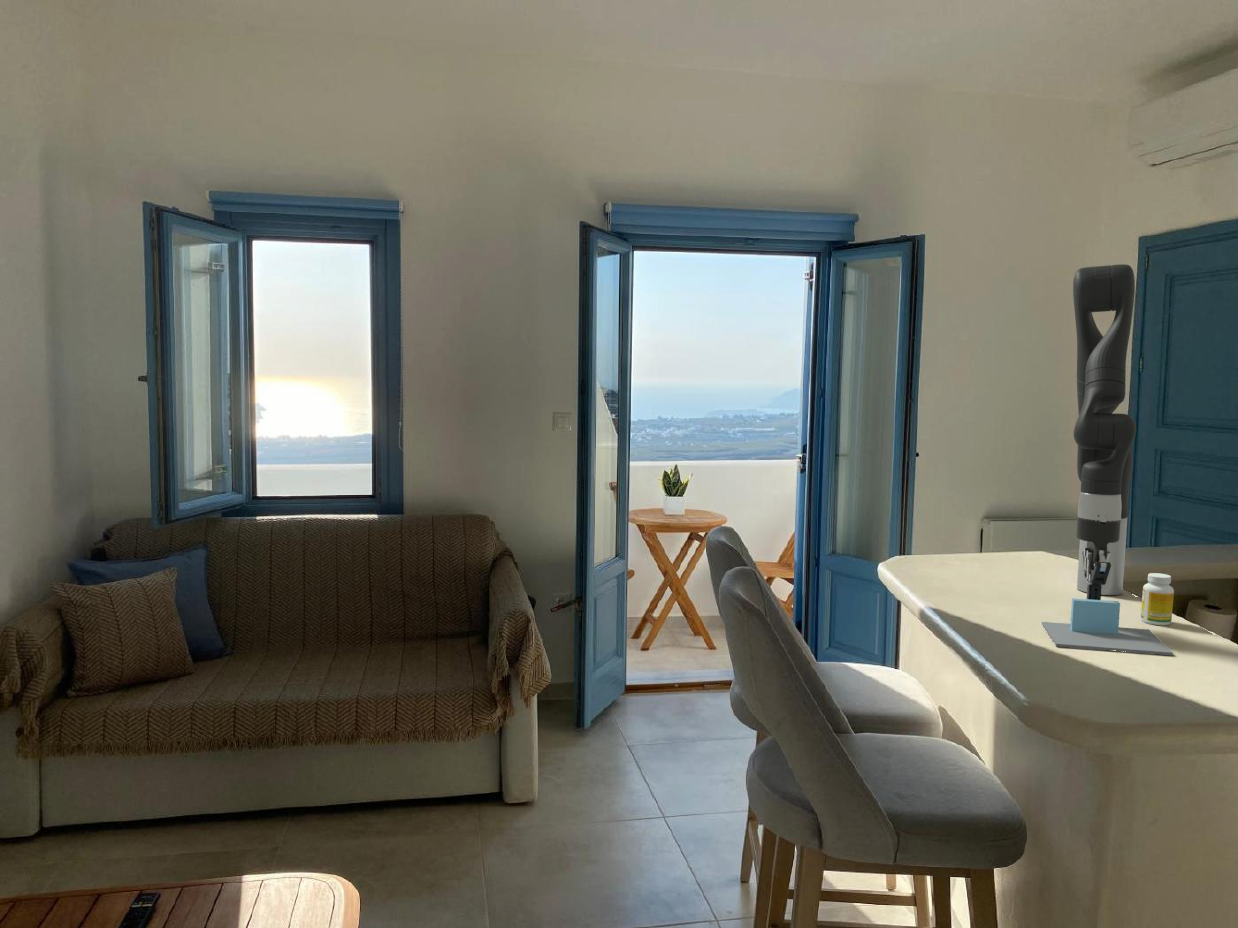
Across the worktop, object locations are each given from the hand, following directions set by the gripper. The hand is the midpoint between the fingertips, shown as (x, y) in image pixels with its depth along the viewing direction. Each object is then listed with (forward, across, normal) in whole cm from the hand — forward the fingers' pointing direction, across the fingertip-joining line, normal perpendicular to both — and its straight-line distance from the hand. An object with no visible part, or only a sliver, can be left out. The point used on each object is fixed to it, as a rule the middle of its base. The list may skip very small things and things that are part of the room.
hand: (1093, 603), depth 184 cm
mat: (+5, +9, 0) cm, 10 cm away
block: (+4, +6, -1) cm, 8 cm away
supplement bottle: (+5, -7, +13) cm, 15 cm away
